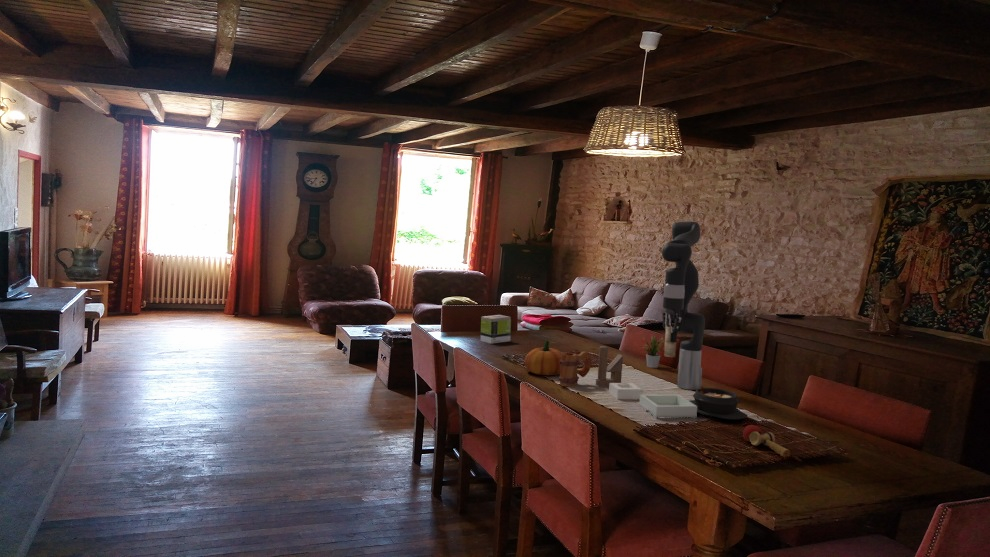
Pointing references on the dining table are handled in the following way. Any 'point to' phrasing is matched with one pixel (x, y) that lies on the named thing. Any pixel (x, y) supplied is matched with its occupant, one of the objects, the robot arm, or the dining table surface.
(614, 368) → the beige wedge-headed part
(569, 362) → the mug
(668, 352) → the dowel
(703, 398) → the casserole
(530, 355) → the pumpkin
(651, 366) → the house plant
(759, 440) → the kendama
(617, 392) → the holder
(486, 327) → the tea box
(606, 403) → the dining table surface
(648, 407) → the tray
